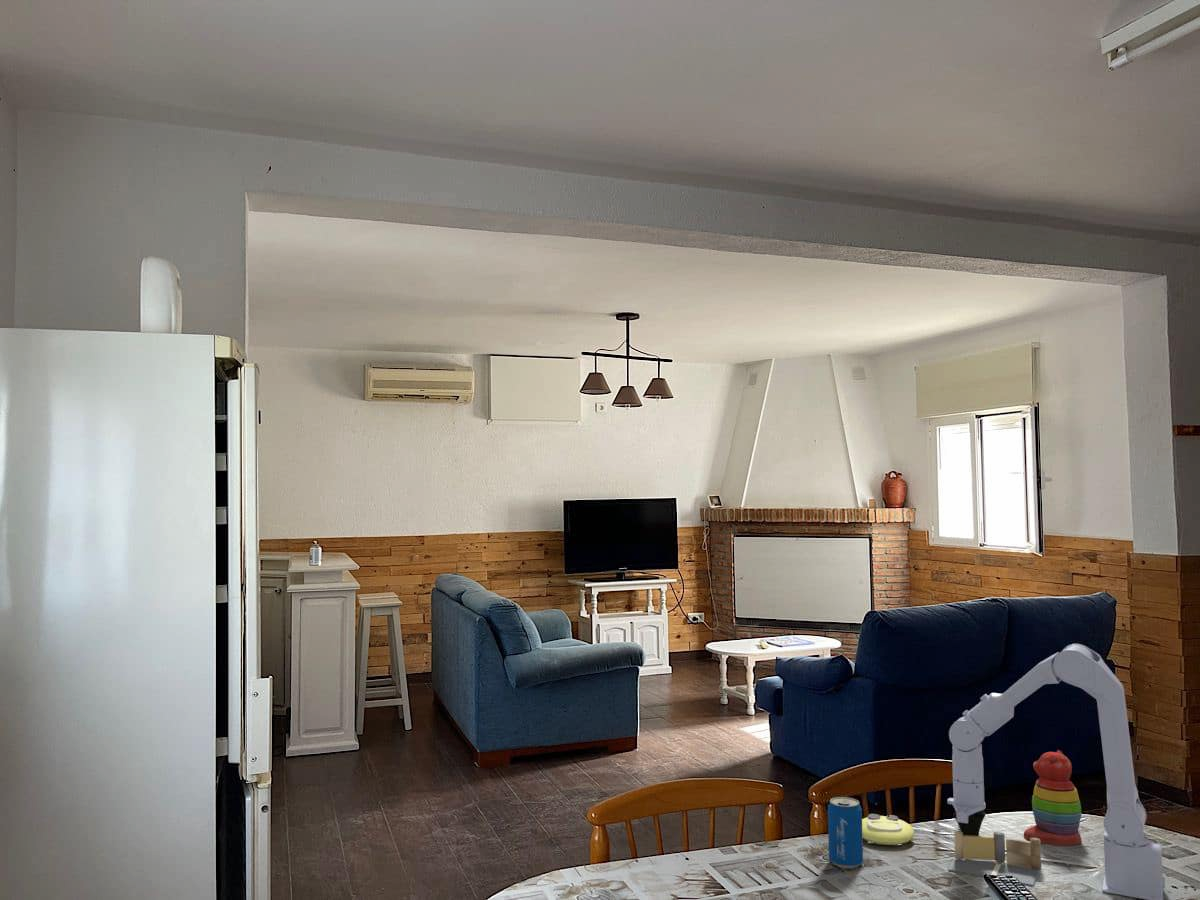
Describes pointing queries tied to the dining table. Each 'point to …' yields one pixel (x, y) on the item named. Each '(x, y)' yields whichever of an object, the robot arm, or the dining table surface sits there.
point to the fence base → (1024, 853)
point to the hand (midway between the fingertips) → (970, 849)
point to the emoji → (886, 830)
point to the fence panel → (980, 846)
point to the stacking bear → (1055, 802)
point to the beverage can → (845, 832)
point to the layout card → (994, 869)
